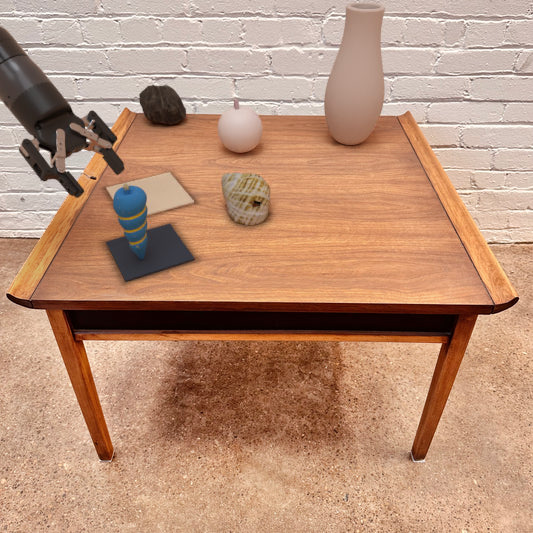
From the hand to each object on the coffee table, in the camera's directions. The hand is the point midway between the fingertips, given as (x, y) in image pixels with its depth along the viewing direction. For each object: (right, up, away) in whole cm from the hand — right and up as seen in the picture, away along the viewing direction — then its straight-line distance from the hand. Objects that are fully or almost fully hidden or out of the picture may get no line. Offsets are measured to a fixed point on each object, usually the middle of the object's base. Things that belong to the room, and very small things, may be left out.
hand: (102, 183), depth 75 cm
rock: (-1, +25, +53) cm, 59 cm away
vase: (+46, +18, +44) cm, 66 cm away
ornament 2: (+20, +15, +40) cm, 47 cm away
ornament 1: (+5, -12, +6) cm, 14 cm away
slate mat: (+5, -10, +8) cm, 15 cm away
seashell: (+22, -2, +19) cm, 29 cm away
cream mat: (+2, +1, +23) cm, 23 cm away
